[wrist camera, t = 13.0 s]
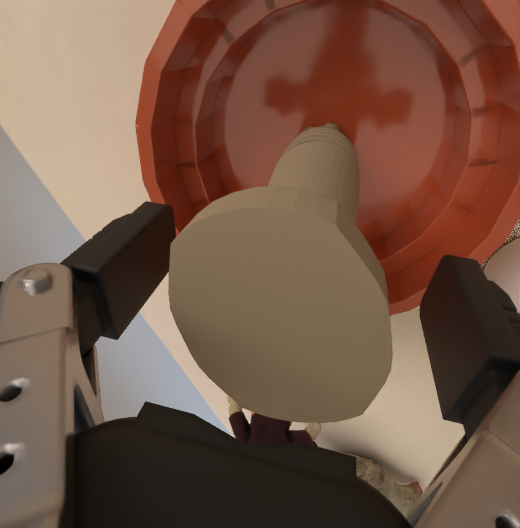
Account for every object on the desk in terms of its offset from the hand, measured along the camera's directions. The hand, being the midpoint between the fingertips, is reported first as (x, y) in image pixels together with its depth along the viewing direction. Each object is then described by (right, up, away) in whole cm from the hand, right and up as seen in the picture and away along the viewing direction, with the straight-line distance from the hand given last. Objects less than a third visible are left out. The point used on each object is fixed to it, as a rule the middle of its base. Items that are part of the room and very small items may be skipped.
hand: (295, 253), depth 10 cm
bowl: (+3, +7, +10) cm, 12 cm away
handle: (+3, +6, +9) cm, 12 cm away
